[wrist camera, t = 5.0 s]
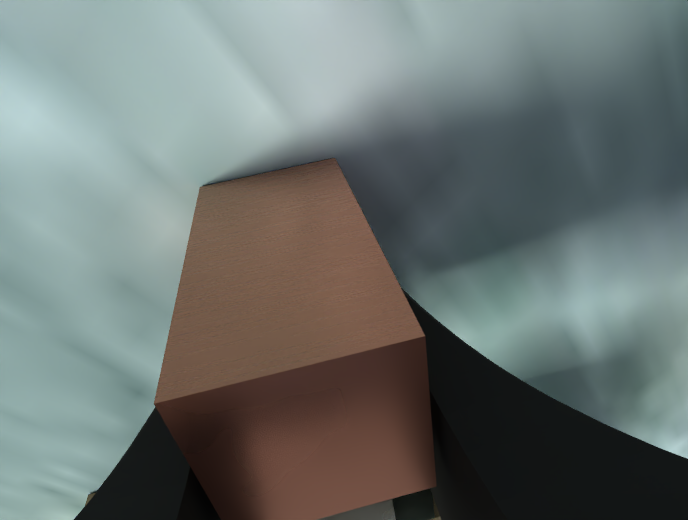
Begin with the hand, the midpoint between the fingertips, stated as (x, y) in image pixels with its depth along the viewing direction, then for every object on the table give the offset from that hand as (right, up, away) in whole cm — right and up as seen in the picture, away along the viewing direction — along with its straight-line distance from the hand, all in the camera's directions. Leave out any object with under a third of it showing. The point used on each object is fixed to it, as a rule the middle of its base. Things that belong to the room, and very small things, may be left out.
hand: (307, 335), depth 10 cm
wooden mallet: (0, -3, +4) cm, 5 cm away
